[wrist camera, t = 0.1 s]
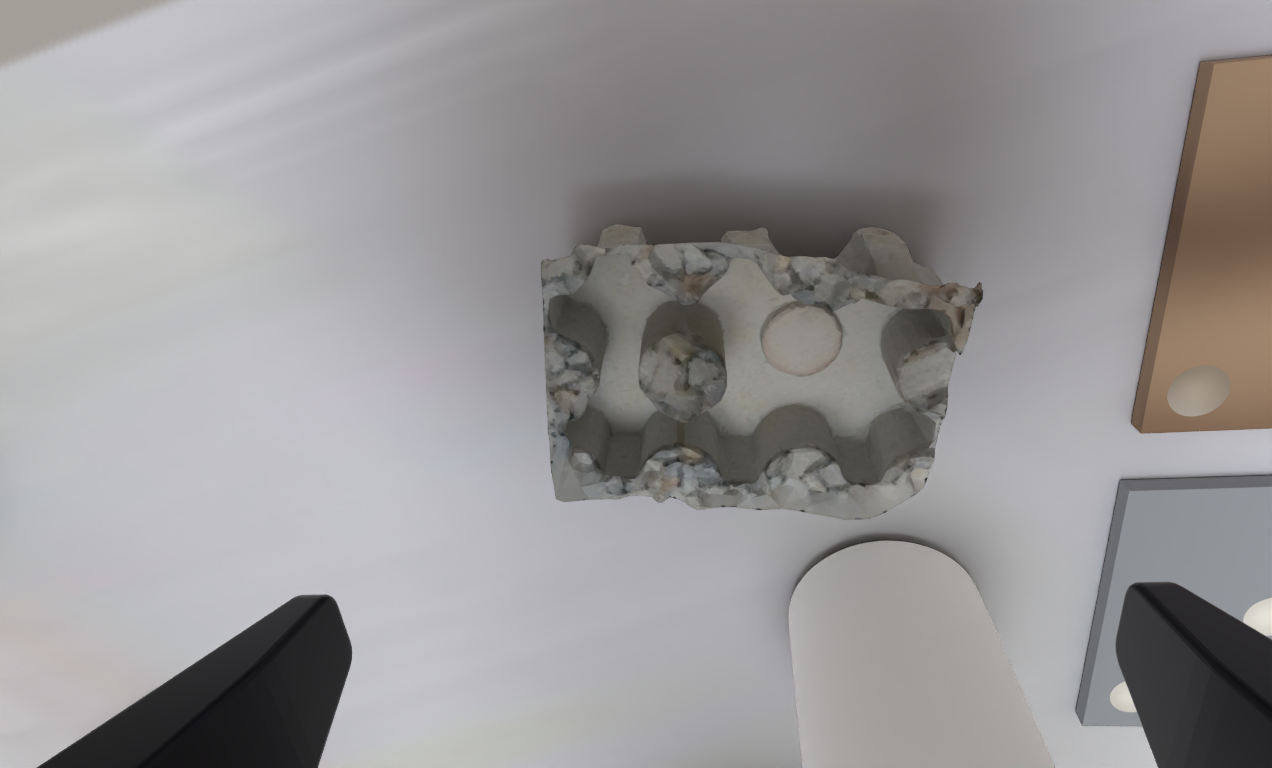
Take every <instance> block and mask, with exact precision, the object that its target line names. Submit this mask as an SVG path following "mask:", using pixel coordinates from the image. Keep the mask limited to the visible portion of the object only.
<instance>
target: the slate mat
mask: <svg viewBox="0 0 1272 768" xmlns="http://www.w3.org/2000/svg"><path fill="white" fill-rule="evenodd" d="M1136 582H1173V583H1176V584H1178V585H1180V586H1182V587H1184V588H1186V589H1187V590H1189V591H1191V592H1192V593H1194V594H1196V595H1197V596H1199V597H1201V598H1203V599H1204V600H1206V601H1208V602H1209V603H1211V604H1213V605H1214V606H1216V607H1218V608H1219V609H1221V610H1223V611H1225V612H1226V613H1228V614H1230V615H1231V616H1233V617H1235V618H1236V619H1238V620H1240V621H1241V622H1243V623H1245V624H1246V625H1248V626H1250V627H1252V628H1253V629H1255V630H1257V631H1258V632H1260V633H1262V634H1263V635H1265V636H1267V637H1268V638H1270V639H1272V475H1269V476H1238V477H1206V478H1174V479H1143V480H1120V484H1119V489H1118V494H1117V499H1116V505H1115V510H1114V515H1113V520H1112V525H1111V531H1110V536H1109V541H1108V546H1107V551H1106V557H1105V562H1104V567H1103V572H1102V578H1101V583H1100V588H1099V593H1098V598H1097V604H1096V609H1095V614H1094V619H1093V624H1092V630H1091V635H1090V640H1089V645H1088V651H1087V656H1086V661H1085V666H1084V671H1083V677H1082V682H1081V687H1080V692H1079V698H1078V703H1077V708H1076V714H1077V716H1078V718H1079V720H1080V722H1081V724H1082V726H1142V724H1141V721H1140V719H1139V716H1138V713H1137V711H1136V708H1135V706H1134V703H1133V700H1132V698H1131V695H1130V693H1129V690H1128V687H1127V685H1126V682H1125V679H1124V677H1123V674H1122V672H1121V669H1120V666H1119V663H1118V660H1117V656H1116V649H1115V642H1116V635H1117V631H1118V626H1119V621H1120V616H1121V612H1122V607H1123V602H1124V597H1125V594H1126V591H1127V589H1128V587H1129V586H1130V585H1131V584H1133V583H1136Z"/></svg>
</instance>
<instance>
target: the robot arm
mask: <svg viewBox="0 0 1272 768" xmlns="http://www.w3.org/2000/svg"><path fill="white" fill-rule="evenodd" d="M1115 649H1116V656H1117V660H1118V663H1119V666H1120V669H1121V672H1122V674H1123V677H1124V679H1125V682H1126V685H1127V687H1128V690H1129V693H1130V695H1131V698H1132V700H1133V703H1134V706H1135V708H1136V711H1137V713H1138V716H1139V719H1140V721H1141V724H1142V727H1143V729H1144V732H1145V734H1146V737H1147V740H1148V742H1149V745H1150V747H1151V750H1152V753H1153V755H1154V758H1155V761H1156V763H1157V766H1158V768H1272V639H1270V638H1268V637H1267V636H1265V635H1263V634H1262V633H1260V632H1258V631H1257V630H1255V629H1253V628H1252V627H1250V626H1248V625H1246V624H1245V623H1243V622H1241V621H1240V620H1238V619H1236V618H1235V617H1233V616H1231V615H1230V614H1228V613H1226V612H1225V611H1223V610H1221V609H1219V608H1218V607H1216V606H1214V605H1213V604H1211V603H1209V602H1208V601H1206V600H1204V599H1203V598H1201V597H1199V596H1197V595H1196V594H1194V593H1192V592H1191V591H1189V590H1187V589H1186V588H1184V587H1182V586H1180V585H1178V584H1176V583H1173V582H1136V583H1133V584H1131V585H1130V586H1129V587H1128V589H1127V591H1126V594H1125V597H1124V602H1123V607H1122V612H1121V616H1120V621H1119V626H1118V631H1117V635H1116V642H1115ZM351 660H352V646H351V642H350V639H349V636H348V633H347V631H346V628H345V625H344V622H343V619H342V616H341V613H340V610H339V608H338V605H337V603H336V601H335V600H334V598H333V597H331V596H329V595H300V596H297V597H294V598H293V599H291V600H290V601H288V602H287V603H285V604H284V605H282V606H281V607H279V608H278V609H276V610H275V611H273V612H272V613H270V614H268V615H267V616H265V617H264V618H262V619H261V620H259V621H258V622H256V623H255V624H253V625H252V626H250V627H249V628H247V629H246V630H244V631H243V632H241V633H240V634H238V635H237V636H235V637H234V638H232V639H231V640H229V641H228V642H226V643H225V644H223V645H222V646H220V647H219V648H217V649H216V650H214V651H213V652H211V653H209V654H208V655H206V656H205V657H203V658H202V659H200V660H199V661H197V662H196V663H194V664H193V665H191V666H190V667H188V668H187V669H185V670H184V671H182V672H181V673H179V674H178V675H176V676H175V677H173V678H172V679H170V680H169V681H167V682H166V683H164V684H163V685H161V686H160V687H158V688H157V689H155V690H154V691H152V692H150V693H149V694H147V695H146V696H144V697H143V698H141V699H140V700H138V701H137V702H135V703H134V704H132V705H131V706H129V707H128V708H126V709H125V710H123V711H122V712H120V713H119V714H117V715H116V716H114V717H113V718H111V719H110V720H108V721H107V722H105V723H104V724H102V725H101V726H99V727H98V728H96V729H95V730H93V731H91V732H90V733H88V734H87V735H85V736H84V737H82V738H81V739H79V740H78V741H76V742H75V743H73V744H72V745H70V746H69V747H67V748H66V749H64V750H63V751H61V752H60V753H58V754H57V755H55V756H54V757H52V758H51V759H49V760H48V761H46V762H45V763H43V764H42V765H40V766H39V767H37V768H318V765H319V762H320V759H321V756H322V753H323V750H324V747H325V744H326V740H327V737H328V734H329V731H330V728H331V725H332V722H333V719H334V716H335V712H336V709H337V706H338V703H339V700H340V697H341V694H342V691H343V688H344V685H345V681H346V678H347V675H348V672H349V669H350V665H351Z"/></svg>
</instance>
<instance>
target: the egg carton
mask: <svg viewBox="0 0 1272 768" xmlns="http://www.w3.org/2000/svg"><path fill="white" fill-rule="evenodd" d="M541 278H542V288H543V313H544V345H545V371H546V394H547V415H548V434H549V440H550V460H551V472H552V478H553V484H554V490H555V496H556V499H557V500H560V501H563V502H568V501H580V500H594V499H621V498H624V497H627V496H630V495H636V496H649V497H653V498H654V499H655V500H656V501H657V502H663V501H665V500H666V499H668V498H669V497H671V498H675V499H679V500H682V501H683V502H685V503H686V504H687V505H689V506H690V507H692V508H694V509H696V510H701V509H709V508H717V507H740V508H748V509H756V510H769V509H789V510H795V511H802V512H807V513H812V514H818V515H823V516H829V517H834V518H839V519H845V520H853V519H870V518H872V517H875V516H878V515H880V514H883V513H885V512H887V511H888V510H890V509H892V508H893V507H895V506H897V505H898V504H900V503H902V502H903V501H905V500H907V499H908V498H910V497H912V496H913V495H915V494H916V493H917V492H919V491H920V490H921V489H922V488H924V485H925V483H926V480H927V478H928V474H929V470H930V468H931V466H932V463H933V461H934V455H935V446H936V441H937V437H938V432H939V429H940V425H941V422H942V419H943V418H945V415H946V410H947V399H948V381H949V378H950V375H951V371H952V367H953V363H954V359H955V354H956V351H958V352H959V354H960V355H961V353H962V352H963V350H964V347H965V345H966V342H967V340H968V336H969V332H970V328H971V324H972V319H973V313H974V311H975V307H976V306H978V305H979V303H980V302H981V300H982V299H983V290H982V284H981V283H980V282H979V283H978V284H977V286H976V287H975V288H967V287H963V286H960V285H958V284H957V283H947V284H944V285H943V283H942V282H941V280H940V279H939V277H938V276H937V275H936V273H935V272H934V271H933V270H932V269H931V268H926V267H923V266H921V265H919V264H916V263H914V262H913V260H912V258H911V255H910V252H909V250H908V247H907V245H906V244H905V242H904V241H903V240H902V239H900V238H899V237H898V236H897V235H896V234H894V233H893V232H891V231H888V230H885V229H881V228H875V227H868V228H862V229H859V230H857V231H855V232H854V234H853V236H852V238H851V240H850V242H849V243H848V244H847V245H846V246H845V247H844V248H843V250H842V251H841V253H840V254H839V256H837V257H836V258H834V259H831V258H827V257H806V256H795V257H786V256H783V255H781V254H779V253H778V251H777V250H776V248H775V247H774V245H773V244H772V242H771V241H770V239H769V236H768V231H767V229H765V228H759V229H756V230H751V231H728V232H726V233H725V234H724V235H723V236H722V238H721V241H720V242H702V243H675V244H653V245H647V242H646V239H645V237H644V234H643V231H642V229H641V227H631V226H626V225H620V224H618V225H613V226H610V227H608V228H606V229H603V230H602V232H601V236H600V240H599V243H598V245H597V246H596V247H595V246H591V245H579V246H577V247H575V249H574V251H573V253H572V255H571V256H569V257H565V258H560V259H556V260H548V259H545V260H543V261H542V263H541Z"/></svg>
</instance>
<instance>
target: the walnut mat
mask: <svg viewBox="0 0 1272 768" xmlns="http://www.w3.org/2000/svg"><path fill="white" fill-rule="evenodd" d="M1131 424H1132V425H1133V426H1134V427H1135V428H1136V429H1137V430H1138V431H1139V432H1140V433H1166V432H1192V431H1218V430H1243V429H1269V428H1272V55H1266V56H1256V57H1246V58H1236V59H1226V60H1216V61H1206V62H1200V66H1199V72H1198V77H1197V82H1196V87H1195V93H1194V98H1193V103H1192V108H1191V113H1190V119H1189V124H1188V129H1187V134H1186V139H1185V145H1184V150H1183V155H1182V160H1181V166H1180V171H1179V176H1178V181H1177V186H1176V192H1175V197H1174V202H1173V207H1172V212H1171V218H1170V223H1169V228H1168V233H1167V239H1166V244H1165V249H1164V254H1163V259H1162V265H1161V270H1160V275H1159V280H1158V285H1157V291H1156V296H1155V301H1154V306H1153V312H1152V317H1151V322H1150V327H1149V332H1148V338H1147V343H1146V348H1145V353H1144V359H1143V364H1142V369H1141V374H1140V379H1139V385H1138V390H1137V395H1136V400H1135V405H1134V411H1133V416H1132V421H1131Z"/></svg>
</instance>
